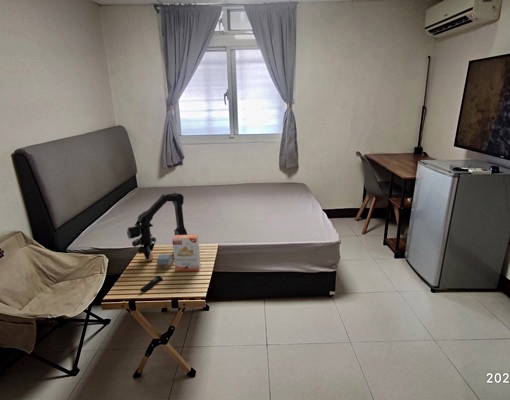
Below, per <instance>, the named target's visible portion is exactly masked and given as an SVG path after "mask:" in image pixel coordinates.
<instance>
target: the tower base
mask: <svg viewBox="0 0 510 400" xmlns="http://www.w3.org/2000/svg"><path fill="white" fill-rule="evenodd" d="M173 265H174V258H171V260H170V262H169V264H162V265H158V264H157V263H156V265H155V267H156V271H159V270H161V271H162V270H163V269H164V270H171V269H170V268H172V266H173ZM164 270H163V271H164Z"/></svg>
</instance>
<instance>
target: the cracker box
mask: <svg viewBox="0 0 510 400" xmlns="http://www.w3.org/2000/svg"><path fill="white" fill-rule="evenodd" d="M171 241H172V249H173V251H172V252H173V262H174V267H175V272H195V271H196V272H199V271H200V268H201V256H200V255H201V254H200V253H201V252H200V244H199V243H200V241H199V234H187V235H175V234H174V236H173V237H172V239H171Z"/></svg>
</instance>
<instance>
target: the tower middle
mask: <svg viewBox="0 0 510 400" xmlns="http://www.w3.org/2000/svg"><path fill="white" fill-rule="evenodd" d="M171 259H172V255H171V254H170V253H167V254H166V253H164V254H159V256H158V257H157V258H156V261H157V263H156V265H157V264H158V265H162V264H169V262H170V260H171Z"/></svg>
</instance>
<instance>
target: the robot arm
mask: <svg viewBox="0 0 510 400" xmlns="http://www.w3.org/2000/svg"><path fill="white" fill-rule="evenodd" d="M184 198H185V197H184V194H182V193H179V192H173V193H168V194H165V193H164V194H161V195H160V197H159V198H158V199H157V200H156V201H155V202H154V203H153V204H152V205H151V206H150V207H149V208H148V209H147V210H146V211H143V212H142V213H141V214H138V216H137V221H136V222H135V223H134V225H133V226H130V227H127V230H126V231H127V232H126V235H127V237H128V239H129V240H130V239H134V240H132V241H131V246H133V247H134V248H136V247H138V246H140V247H139V248H138V249H137V253H138V254H143V255H145V256H144V258H145V257H146V259H149V256H150V251H151V250H152V252H153V250H154V247H155V244H156V242H157V238H156V237H153V234H152V233H151V227H154V225H153V224H152V223H151V222H152V220H153V218H154V216H155V214H157V213H158V211H159V210H160V209H161V208H162V207H163V206H164V205H166V203H167V202H172V204H173V206H174V213H175V222H176V229H174V230H173V232H174V236H175V235H188V231H187V229H186V227H185V221H184V213H183V205H184V200H185V199H184ZM138 237H139V238H138ZM135 238H136V239H135Z"/></svg>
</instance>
